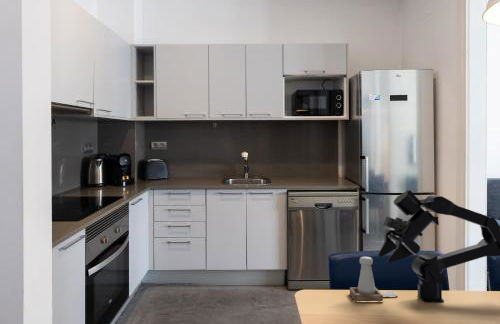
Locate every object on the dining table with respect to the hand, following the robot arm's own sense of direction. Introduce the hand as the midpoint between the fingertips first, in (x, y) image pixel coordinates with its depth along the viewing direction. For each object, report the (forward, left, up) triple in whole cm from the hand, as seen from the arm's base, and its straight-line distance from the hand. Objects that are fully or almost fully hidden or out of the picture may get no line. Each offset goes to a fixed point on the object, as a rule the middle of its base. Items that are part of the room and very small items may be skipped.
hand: (383, 259), depth 141 cm
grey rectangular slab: (-1, -5, -14) cm, 15 cm away
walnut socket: (+6, -2, -14) cm, 15 cm away
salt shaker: (+5, -2, -13) cm, 14 cm away
